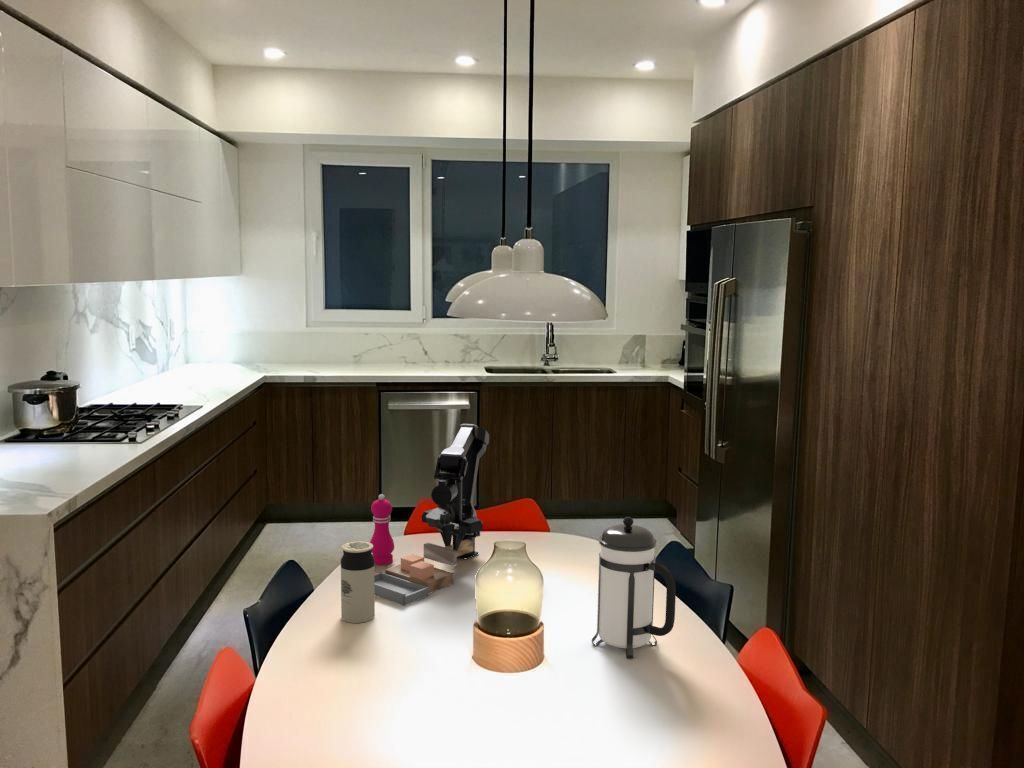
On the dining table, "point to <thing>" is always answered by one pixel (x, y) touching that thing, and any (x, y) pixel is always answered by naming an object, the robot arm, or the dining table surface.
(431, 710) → the dining table surface
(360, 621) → the travel mug
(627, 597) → the coffee press
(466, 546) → the scraper
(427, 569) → the tile
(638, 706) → the dining table surface
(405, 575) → the board
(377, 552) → the pepper mill
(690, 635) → the dining table surface
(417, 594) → the box
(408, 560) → the tan square block
